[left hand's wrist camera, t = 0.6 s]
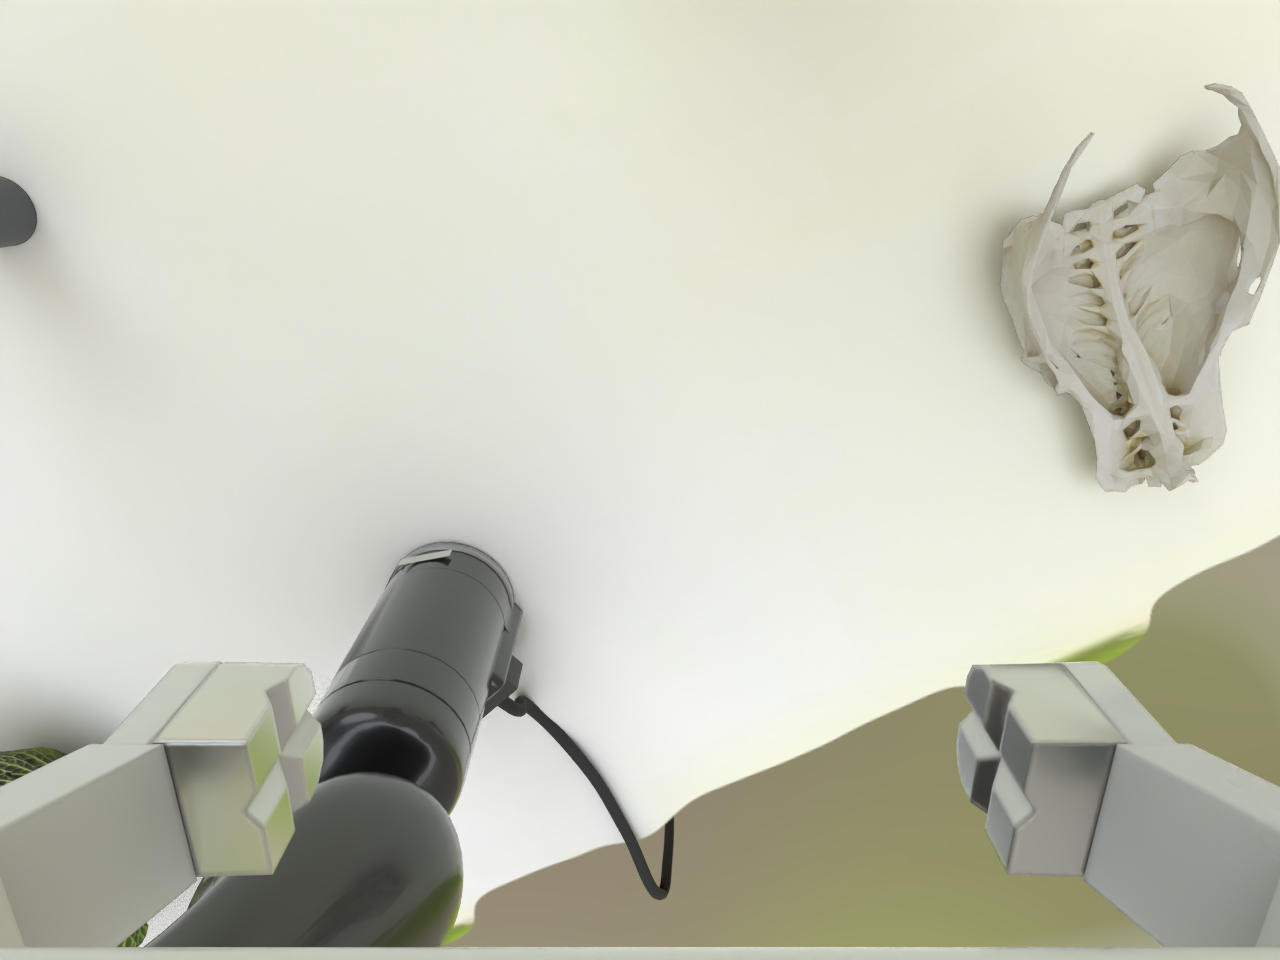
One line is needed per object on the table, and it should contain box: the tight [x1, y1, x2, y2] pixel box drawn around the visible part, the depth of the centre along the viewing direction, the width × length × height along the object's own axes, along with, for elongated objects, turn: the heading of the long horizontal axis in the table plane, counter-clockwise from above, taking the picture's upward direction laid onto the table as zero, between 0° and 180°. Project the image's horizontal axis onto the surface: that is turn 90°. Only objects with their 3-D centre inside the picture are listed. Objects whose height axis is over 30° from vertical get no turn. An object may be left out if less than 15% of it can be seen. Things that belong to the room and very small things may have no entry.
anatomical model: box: [1000, 83, 1280, 492], centre depth 52 cm, size 15×9×25 cm
